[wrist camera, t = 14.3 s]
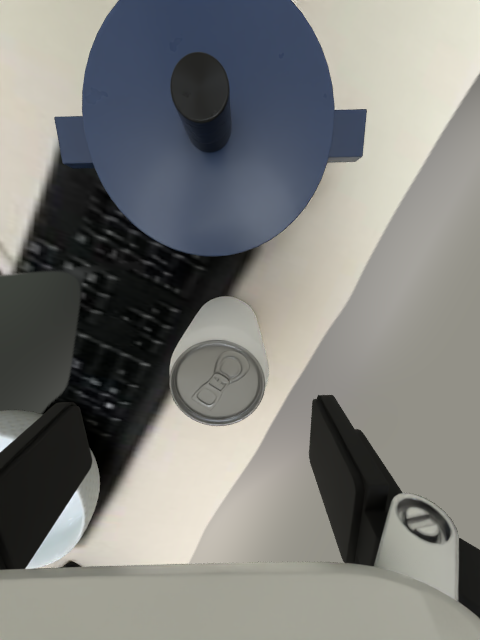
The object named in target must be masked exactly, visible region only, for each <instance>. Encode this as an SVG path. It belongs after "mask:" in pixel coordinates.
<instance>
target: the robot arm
mask: <svg viewBox="0 0 480 640" xmlns="http://www.w3.org/2000/svg"><path fill="white" fill-rule="evenodd" d="M309 458H310V463H311V466H312V469H313V472H314V475H315V478H316V482H317V484H318V488H319V490H320V494H321V496H322V499H323V503H324V505H325V508H326V512H327V514H328V517H329V521H330V523H331V527H332V529H333V533H334V536H335V539H336V542H337V545H338V548H339V551H340V553H341V556H342V559H343V561H344V563H334V562H254V563H253V562H252V563H208V564H167V565H131V566H97V567H67V568H38V569H25V568H26V567H27V566H28V564H29V563H30V561H31V559H32V558H33V556H34V555H35V553H36V552H37V550H38V549H39V547H40V546H41V544H42V543H43V541H44V539H45V538H46V536H47V535H48V533H49V532H50V530H51V529H52V527H53V526H54V524H55V523H56V521H57V519H58V518H59V516H60V515H61V513H62V512H63V510H64V509H65V507H66V506H67V504H68V503H69V501H70V500H71V498H72V496H73V495H74V493H75V492H76V490H77V489H78V487H79V486H80V484H81V483H82V481H83V480H84V478H85V476H86V475H87V473H88V472H89V470H90V468H91V466H92V457H91V452H90V448H89V444H88V440H87V435H86V431H85V427H84V423H83V419H82V414H81V410H80V407H79V406H76V404H75V403H74V402H60V403H56V404H55V405H53V406H52V407H51V408H50V409H49V410H48V411H47V412H45V413H44V414H43V415H42V416H41V417H40V418H39V419H37V420H36V421H35V422H34V423H33V424H32V425H31V426H30V427H28V428H27V429H26V430H25V431H24V432H23V433H22V434H20V435H19V436H18V437H17V438H16V439H15V440H14V441H13V442H11V443H10V444H9V445H8V446H7V447H6V448H5V449H3V450H2V451H1V452H0V640H480V550H479V549H477V548H476V547H474V546H472V545H471V544H469V543H467V542H466V541H464V540H462V539H461V538H459V536H458V531H457V528H456V527H455V525H454V523H453V521H452V519H451V518H450V517H449V516H448V515H447V514H446V513H445V511H443V510H442V509H441V508H440V507H439V506H437V505H436V504H435V503H433V502H431V501H429V500H428V499H426V498H424V497H421V496H419V495H416V494H411V493H402V491H401V490H400V488H399V487H398V485H397V484H396V482H395V481H394V479H393V478H392V476H391V475H390V473H389V472H388V470H387V469H386V467H385V466H384V464H383V462H382V461H381V459H380V458H379V456H378V455H377V453H376V452H375V450H374V449H373V447H372V446H371V444H370V443H369V441H368V440H367V438H366V437H365V435H364V434H363V433H362V432H361V430H358V429H354V428H353V426H352V425H351V423H350V421H349V420H348V418H347V417H346V415H345V413H344V412H343V410H342V409H341V407H340V405H339V404H338V402H337V401H336V399H335V397H334V396H333V395H318V397H317V399H314V400H313V403H312V417H311V433H310V449H309Z"/></svg>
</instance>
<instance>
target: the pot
mask: <svg viewBox="0 0 480 640" xmlns="http://www.w3.org/2000/svg"><path fill="white" fill-rule="evenodd" d="M366 113H367V109H356V110H334V131H333V139H332V145H331V150H330V154H329V158H328V162H356V161H357V160H358V159H360V158H361V157H362V156H363V145H364V134H365V124H366ZM54 119H55V124H56V129H57V135H58V140H59V146H60V151H61V157H62V162H63V164H65V165H67V166H69V167H71V168H94V165H93V162H92V159H91V156H90V153H89V150H88V146H87V141H86V136H85V132H84V123H83V116H71V117H55V118H54ZM328 162H327V163H328Z"/></svg>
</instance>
